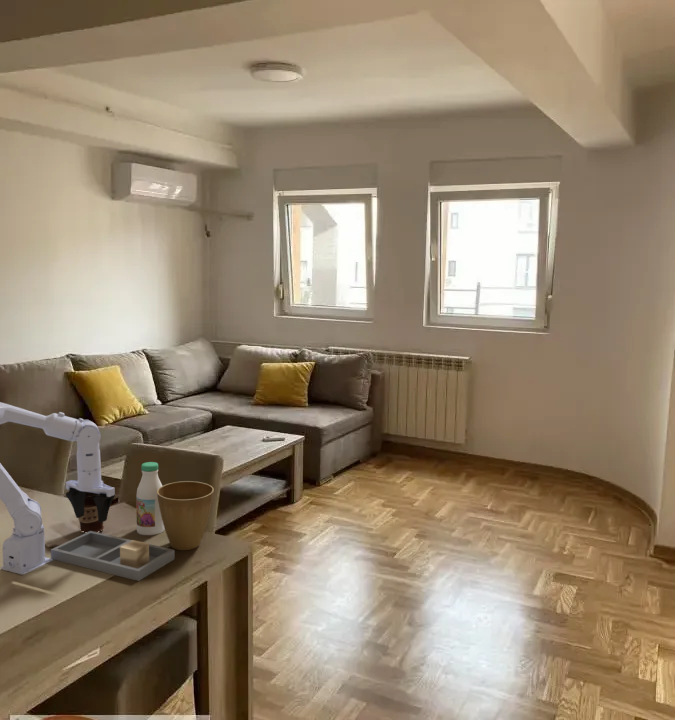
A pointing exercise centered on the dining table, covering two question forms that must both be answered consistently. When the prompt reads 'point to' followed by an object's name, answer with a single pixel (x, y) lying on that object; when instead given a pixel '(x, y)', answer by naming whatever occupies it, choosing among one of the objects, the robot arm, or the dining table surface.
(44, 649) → the dining table surface
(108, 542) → the tray
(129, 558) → the maple cube
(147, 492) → the milk bottle
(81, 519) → the coffee cup
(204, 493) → the plant pot
